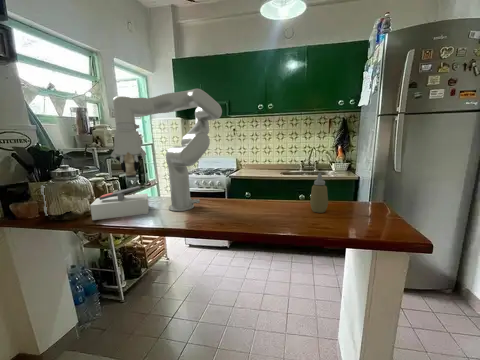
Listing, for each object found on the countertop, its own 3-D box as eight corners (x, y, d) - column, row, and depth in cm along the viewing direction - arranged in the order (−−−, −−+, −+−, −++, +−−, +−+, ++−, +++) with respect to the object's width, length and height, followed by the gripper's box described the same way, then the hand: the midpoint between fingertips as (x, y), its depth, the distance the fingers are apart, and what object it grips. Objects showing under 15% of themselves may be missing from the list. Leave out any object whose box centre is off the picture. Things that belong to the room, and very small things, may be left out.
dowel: (136, 176, 107) (133, 148, 105) (135, 177, 104) (133, 148, 102) (126, 176, 106) (123, 148, 104) (125, 177, 102) (122, 149, 100)
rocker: (140, 187, 124) (139, 185, 124) (139, 189, 120) (138, 187, 120) (102, 197, 119) (101, 195, 119) (100, 200, 115) (99, 197, 114)
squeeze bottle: (308, 213, 111) (309, 174, 108) (310, 208, 119) (311, 171, 116) (327, 214, 108) (328, 174, 105) (328, 209, 116) (329, 172, 113)
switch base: (148, 206, 132) (146, 186, 130) (148, 213, 119) (146, 191, 117) (98, 211, 124) (95, 191, 122) (92, 220, 111) (89, 197, 109)
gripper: (147, 128, 108) (151, 169, 111) (105, 128, 102) (110, 171, 105) (147, 127, 101) (151, 171, 104) (101, 127, 95) (107, 174, 98)
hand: (130, 171), depth 105 cm, fingers closed on dowel, 4 cm apart
